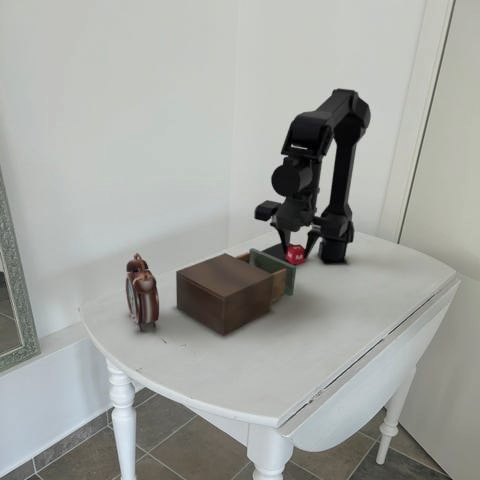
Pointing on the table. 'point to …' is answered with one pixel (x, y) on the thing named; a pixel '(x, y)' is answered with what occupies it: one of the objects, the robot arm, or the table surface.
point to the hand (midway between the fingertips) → (295, 256)
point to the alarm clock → (141, 292)
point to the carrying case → (277, 252)
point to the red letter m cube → (295, 254)
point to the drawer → (273, 271)
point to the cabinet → (224, 293)
